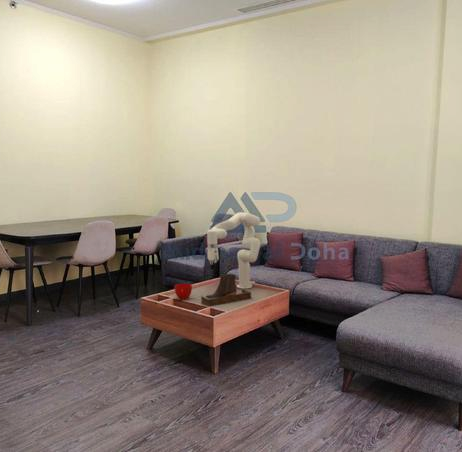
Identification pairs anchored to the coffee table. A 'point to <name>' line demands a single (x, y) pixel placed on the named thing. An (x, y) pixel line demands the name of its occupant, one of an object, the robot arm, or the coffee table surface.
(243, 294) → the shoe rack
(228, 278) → the boot
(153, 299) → the coffee table surface
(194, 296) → the coffee table surface
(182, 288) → the ceramic cup
